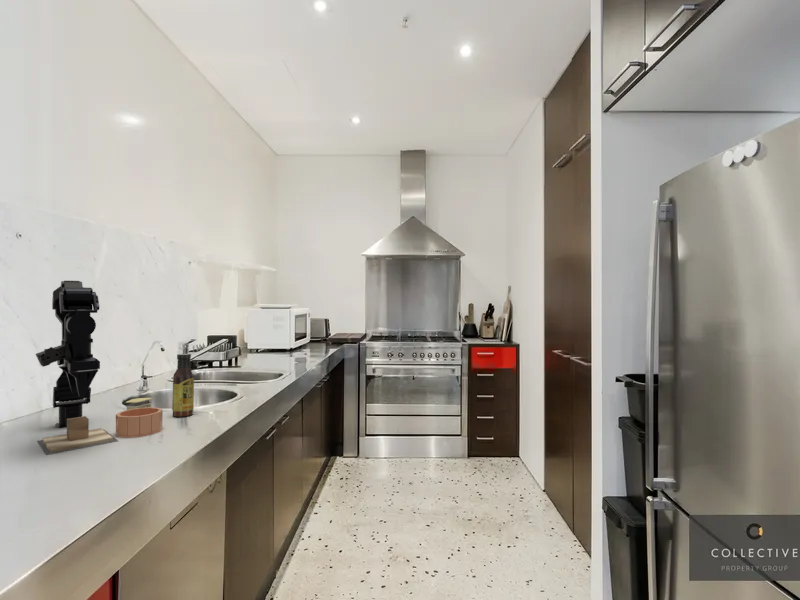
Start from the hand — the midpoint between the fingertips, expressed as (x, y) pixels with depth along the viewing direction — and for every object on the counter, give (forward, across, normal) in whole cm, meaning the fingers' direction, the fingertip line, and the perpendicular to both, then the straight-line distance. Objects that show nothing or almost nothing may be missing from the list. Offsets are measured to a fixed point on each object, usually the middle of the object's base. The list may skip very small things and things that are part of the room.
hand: (77, 394), depth 118 cm
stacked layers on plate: (+13, -20, +20) cm, 31 cm away
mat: (+12, 0, 0) cm, 13 cm away
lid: (+12, 0, 0) cm, 12 cm away
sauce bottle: (+13, -10, +30) cm, 34 cm away
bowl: (+13, +2, +14) cm, 19 cm away
